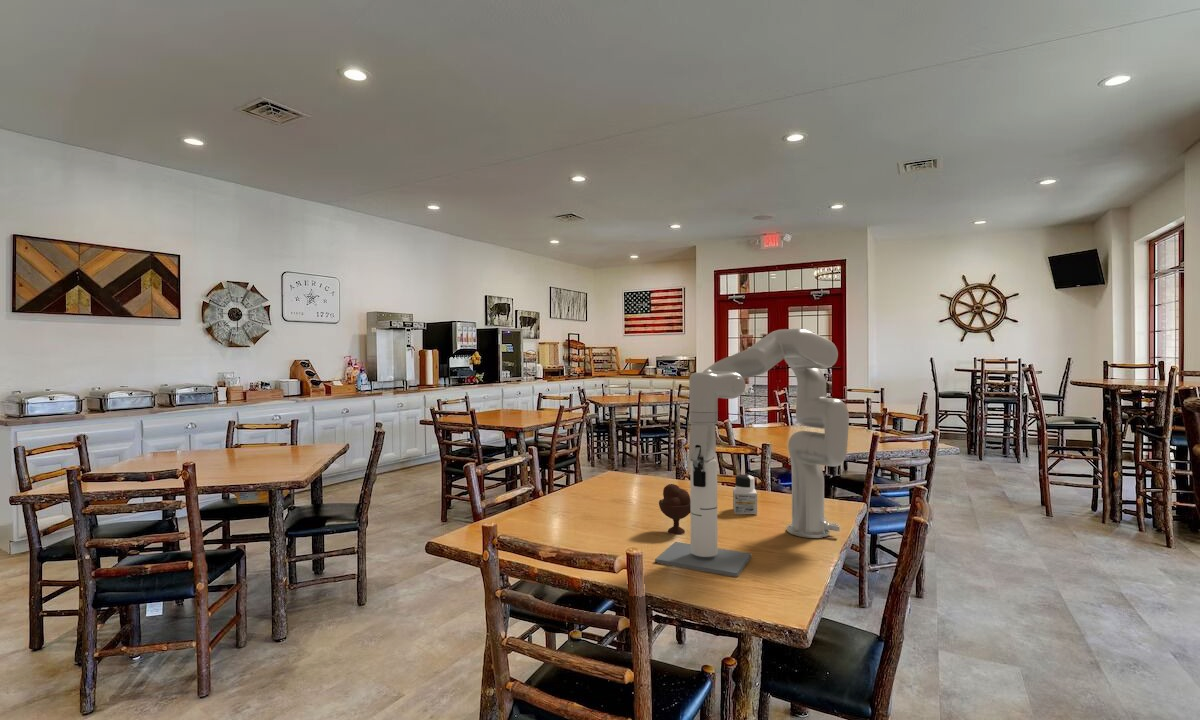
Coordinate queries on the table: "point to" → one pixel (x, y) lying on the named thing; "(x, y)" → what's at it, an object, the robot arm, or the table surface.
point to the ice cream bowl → (675, 506)
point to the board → (705, 560)
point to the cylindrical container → (704, 512)
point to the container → (744, 495)
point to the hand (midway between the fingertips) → (703, 483)
